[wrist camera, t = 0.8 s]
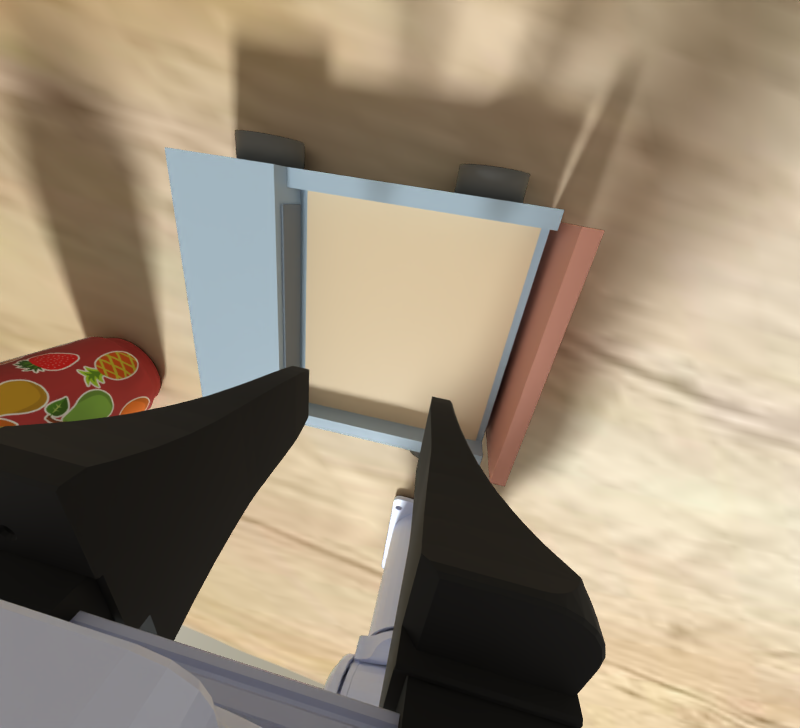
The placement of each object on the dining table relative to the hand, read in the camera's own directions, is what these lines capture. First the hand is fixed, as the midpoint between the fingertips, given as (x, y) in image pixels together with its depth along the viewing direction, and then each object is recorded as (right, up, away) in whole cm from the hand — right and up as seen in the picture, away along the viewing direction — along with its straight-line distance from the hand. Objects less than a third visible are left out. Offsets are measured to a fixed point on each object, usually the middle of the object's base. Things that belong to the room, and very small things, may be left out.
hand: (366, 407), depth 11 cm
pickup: (-1, +5, +10) cm, 11 cm away
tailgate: (+9, +3, +8) cm, 13 cm away
